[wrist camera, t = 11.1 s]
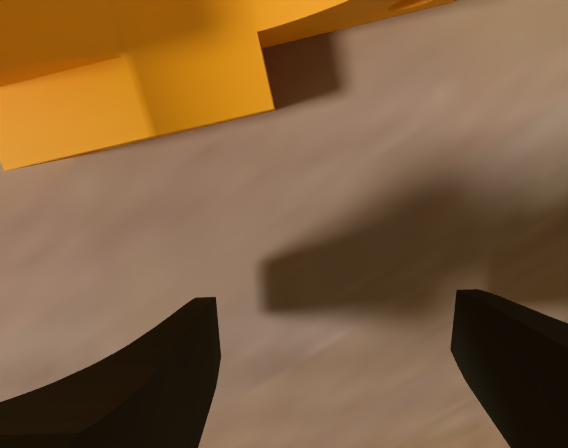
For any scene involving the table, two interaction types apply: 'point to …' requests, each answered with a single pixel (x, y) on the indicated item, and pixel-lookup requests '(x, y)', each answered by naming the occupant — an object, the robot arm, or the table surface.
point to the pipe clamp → (146, 66)
